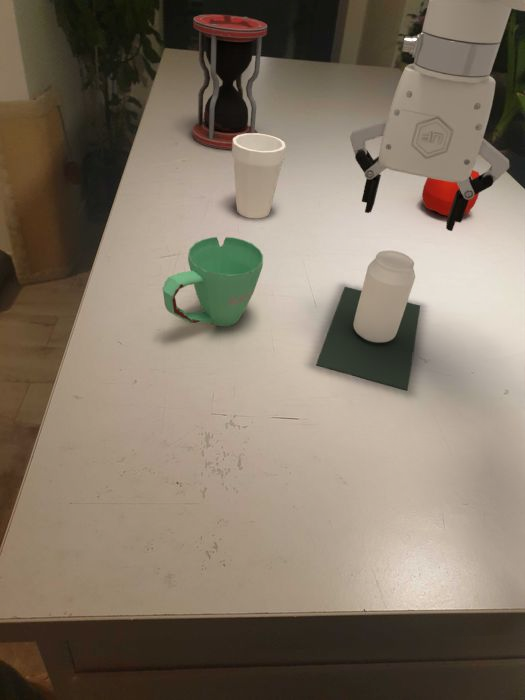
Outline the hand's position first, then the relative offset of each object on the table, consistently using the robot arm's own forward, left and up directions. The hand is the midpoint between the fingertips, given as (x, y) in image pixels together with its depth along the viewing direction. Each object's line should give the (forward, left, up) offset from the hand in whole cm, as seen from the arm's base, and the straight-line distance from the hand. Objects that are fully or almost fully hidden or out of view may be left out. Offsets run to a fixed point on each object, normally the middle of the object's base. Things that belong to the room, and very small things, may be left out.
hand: (408, 217), depth 63 cm
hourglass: (+54, -57, -19) cm, 81 cm away
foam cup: (+31, -25, -19) cm, 44 cm away
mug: (+21, +10, -19) cm, 30 cm away
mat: (0, 0, -18) cm, 18 cm away
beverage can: (0, 0, -18) cm, 18 cm away
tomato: (-2, -49, -19) cm, 53 cm away
